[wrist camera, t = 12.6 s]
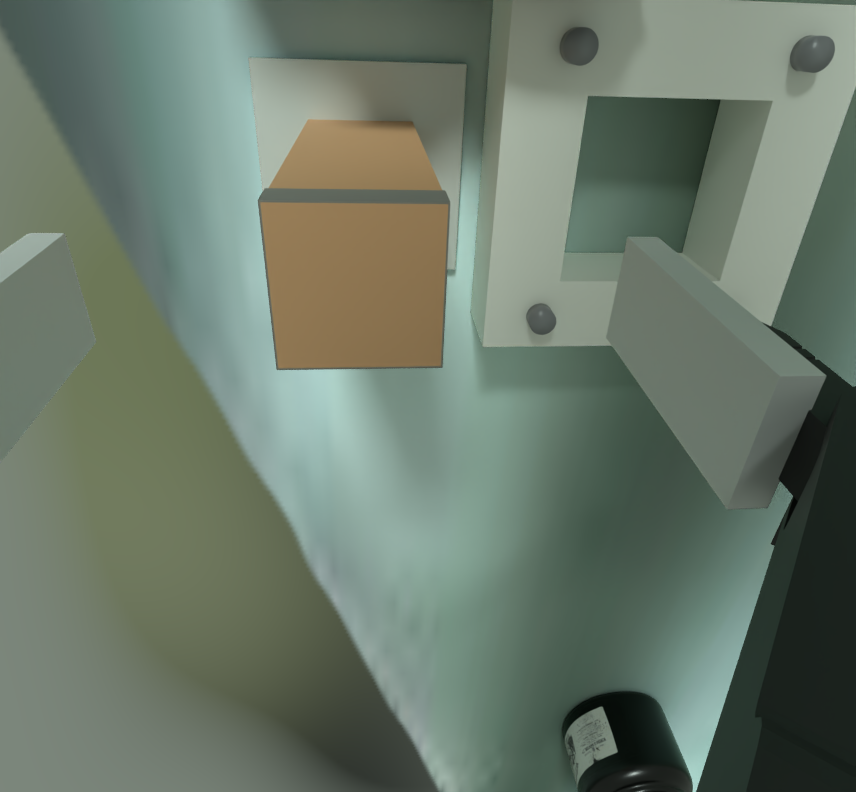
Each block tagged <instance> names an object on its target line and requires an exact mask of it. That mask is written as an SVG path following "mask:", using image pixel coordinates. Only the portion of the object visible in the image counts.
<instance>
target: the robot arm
mask: <svg viewBox="0 0 856 792" xmlns="http://www.w3.org/2000/svg"><path fill="white" fill-rule="evenodd" d="M606 338H607V340H608V341H609V342H610V344H611V345H612V347H613V348H614V349H615V351H616V352H617V354H618V355H619V357H620V358H621V359H622V361H623V362H624V364H625V365H626V367H627V368H628V369H629V371H630V372H631V374H632V375H633V376H634V378H635V379H636V381H637V382H638V384H639V385H640V386H641V388H642V389H643V391H644V392H645V394H646V395H647V396H648V398H649V399H650V401H651V402H652V404H653V405H654V406H655V408H656V409H657V411H658V412H659V413H660V415H661V416H662V418H663V419H664V421H665V422H666V423H667V425H668V426H669V428H670V429H671V431H672V432H673V433H674V435H675V436H676V438H677V439H678V440H679V442H680V443H681V445H682V446H683V448H684V449H685V450H686V452H687V453H688V455H689V456H690V458H691V459H692V460H693V462H694V463H695V465H696V466H697V468H698V469H699V470H700V472H701V473H702V475H703V476H704V477H705V479H706V480H707V482H708V483H709V485H710V486H711V487H712V489H713V490H714V492H715V493H716V495H717V496H718V497H719V499H720V500H721V502H722V503H723V505H724V506H725V507H726V509H752V508H768V506H769V504H770V502H771V499H772V497H773V495H774V493H775V491H776V488H777V486H778V484H779V482H780V481H781V482H782V483H783V485H784V486H785V487H786V488H787V489H788V491H789V492H790V493H791V494H792V495H793V498H792V500H791V502H790V504H789V506H788V508H787V510H786V512H785V515H784V517H783V519H782V521H781V523H780V525H779V527H778V529H777V532H776V534H775V536H774V538H773V540H772V542H771V544H772V545H774V546H775V547H774V550H773V553H772V556H771V559H770V562H769V566H768V569H767V572H766V575H765V578H764V581H763V584H762V587H761V591H760V594H759V597H758V600H757V603H756V606H755V609H754V612H753V616H752V619H751V622H750V625H749V628H748V631H747V634H746V637H745V641H744V644H743V647H742V650H741V653H740V656H739V659H738V662H737V666H736V669H735V672H734V675H733V678H732V681H731V684H730V688H729V691H728V694H727V697H726V700H725V703H724V706H723V709H722V713H721V716H720V719H719V722H718V725H717V728H716V731H715V734H714V738H713V741H712V744H711V747H710V750H709V753H708V756H707V759H706V763H705V766H704V769H703V772H702V775H701V778H700V781H699V784H698V788H697V791H696V792H856V386H855V387H852V386H851V385H850V384H848V383H847V382H846V381H845V380H843V379H842V378H841V377H840V376H838V375H837V374H836V373H835V372H833V371H832V370H831V369H830V368H828V367H827V366H826V365H825V364H823V363H822V362H821V361H820V360H815V356H813V355H812V354H811V353H810V352H808V351H807V350H806V349H802V346H801V345H800V344H798V343H797V342H796V341H795V340H793V339H792V338H791V337H790V336H788V335H787V334H786V333H784V332H782V331H780V330H777V329H775V328H773V327H771V326H769V325H767V324H765V323H763V322H761V321H759V320H758V319H757V318H756V317H755V316H753V315H752V314H751V313H750V312H748V311H747V310H746V309H745V308H744V307H742V306H741V305H740V304H739V303H737V302H736V301H735V300H734V299H733V298H731V297H730V296H729V295H728V294H727V293H725V292H724V291H723V290H722V289H720V288H719V287H718V286H717V285H716V284H714V283H713V282H712V281H711V280H710V279H708V278H707V277H706V276H705V275H703V274H702V273H701V272H700V271H699V270H697V269H696V268H695V267H694V266H692V265H691V264H690V263H689V262H688V261H686V260H685V259H684V258H683V257H682V256H680V255H679V254H678V253H677V252H675V251H674V250H673V249H672V248H671V247H669V246H668V245H667V244H666V243H664V242H663V241H662V240H661V239H660V238H658V237H627V241H626V246H625V251H624V255H623V260H622V265H621V269H620V274H619V279H618V283H617V288H616V293H615V298H614V302H613V307H612V312H611V316H610V321H609V326H608V331H607V335H606ZM95 343H96V340H95V336H94V333H93V329H92V326H91V322H90V319H89V316H88V312H87V309H86V305H85V302H84V298H83V295H82V291H81V288H80V284H79V281H78V278H77V274H76V271H75V267H74V264H73V260H72V257H71V254H70V250H69V247H68V243H67V240H66V236H65V234H64V233H29V234H27V235H25V236H24V237H23V238H21V239H20V240H18V241H17V242H15V243H14V244H12V245H11V246H10V247H8V248H7V249H5V250H4V251H2V252H1V253H0V463H1V461H2V460H3V459H4V458H5V456H6V455H7V454H8V452H9V451H10V450H11V449H12V448H13V446H14V445H15V444H16V442H17V441H18V440H19V438H20V437H21V436H22V435H23V434H24V432H25V431H26V430H27V429H28V427H29V426H30V425H31V424H32V422H33V421H34V420H35V418H36V417H37V416H38V415H39V413H40V412H41V411H42V410H43V408H44V407H45V406H46V405H47V403H48V402H49V401H50V400H51V398H52V397H53V396H54V394H55V393H56V392H57V391H58V389H59V388H60V387H61V386H62V384H63V383H64V382H65V380H66V379H67V378H68V377H69V376H70V374H71V373H72V372H73V370H74V369H75V368H76V366H77V365H78V364H79V363H80V362H81V360H82V359H83V358H84V357H85V355H86V354H87V353H88V352H89V350H90V349H91V348H92V346H93V345H94V344H95Z"/></svg>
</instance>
